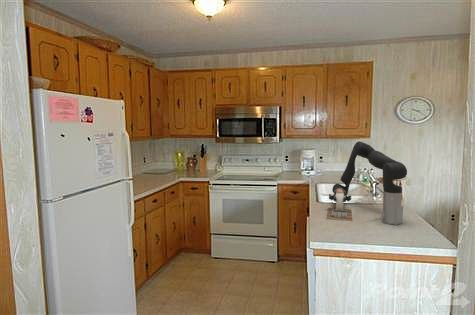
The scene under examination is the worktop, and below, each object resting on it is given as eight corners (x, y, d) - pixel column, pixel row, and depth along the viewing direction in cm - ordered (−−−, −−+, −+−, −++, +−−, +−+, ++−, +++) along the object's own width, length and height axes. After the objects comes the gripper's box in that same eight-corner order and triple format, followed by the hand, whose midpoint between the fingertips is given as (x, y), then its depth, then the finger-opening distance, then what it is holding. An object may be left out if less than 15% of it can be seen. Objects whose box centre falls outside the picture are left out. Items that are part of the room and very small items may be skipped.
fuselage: (344, 212, 195) (345, 189, 193) (339, 213, 192) (340, 190, 191) (339, 211, 198) (339, 188, 197) (334, 212, 196) (334, 189, 195)
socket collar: (332, 213, 192) (332, 208, 192) (346, 214, 190) (347, 209, 189) (331, 217, 184) (331, 212, 184) (347, 218, 182) (347, 213, 181)
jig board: (328, 210, 206) (328, 208, 206) (351, 211, 201) (351, 209, 201) (326, 221, 181) (326, 219, 181) (352, 223, 177) (352, 221, 177)
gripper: (328, 188, 210) (327, 193, 194) (351, 189, 206) (352, 194, 189) (328, 199, 211) (327, 205, 195) (351, 201, 206) (352, 207, 190)
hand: (339, 200), depth 192 cm, fingers closed on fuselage, 4 cm apart
